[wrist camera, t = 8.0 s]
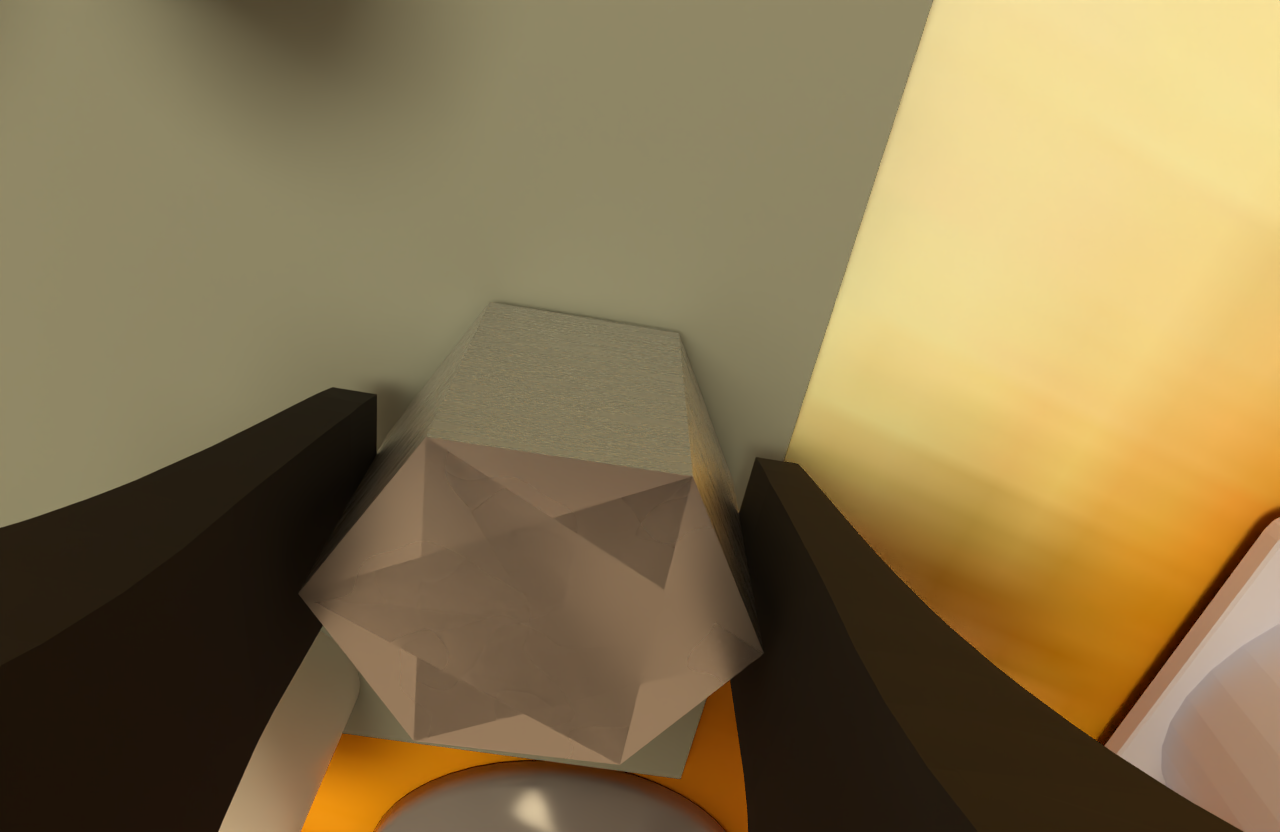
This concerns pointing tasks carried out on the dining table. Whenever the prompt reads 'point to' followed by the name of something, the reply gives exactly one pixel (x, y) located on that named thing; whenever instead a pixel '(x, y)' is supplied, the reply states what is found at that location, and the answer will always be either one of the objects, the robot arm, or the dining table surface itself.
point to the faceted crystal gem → (544, 545)
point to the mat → (414, 213)
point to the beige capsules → (296, 744)
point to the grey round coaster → (544, 802)
